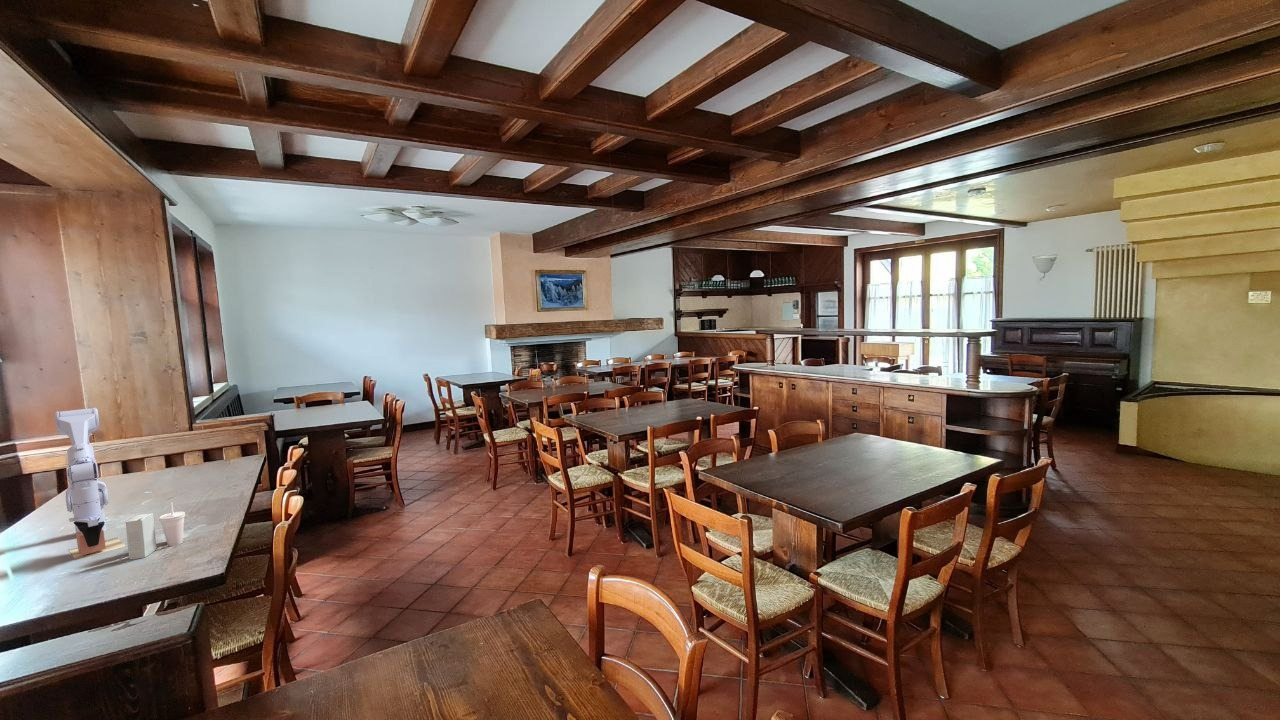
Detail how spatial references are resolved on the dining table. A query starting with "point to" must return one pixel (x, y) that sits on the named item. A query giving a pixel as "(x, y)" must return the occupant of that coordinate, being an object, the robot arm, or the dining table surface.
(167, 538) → the smoothie
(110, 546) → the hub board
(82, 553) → the terracotta orange block
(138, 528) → the skincare box
